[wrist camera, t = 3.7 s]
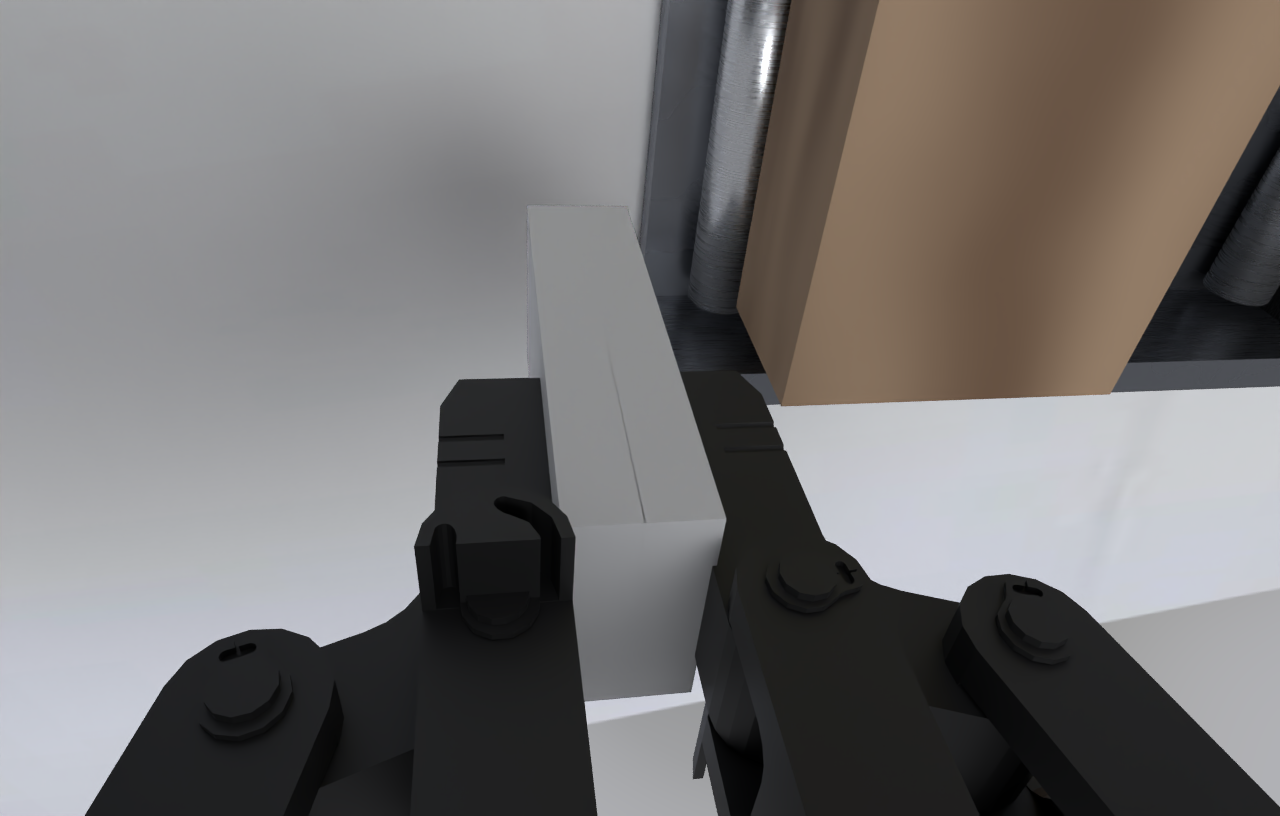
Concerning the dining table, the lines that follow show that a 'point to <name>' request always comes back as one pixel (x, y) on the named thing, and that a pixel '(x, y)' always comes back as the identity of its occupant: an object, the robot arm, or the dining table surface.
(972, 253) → the slab
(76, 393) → the dining table surface
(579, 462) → the robot arm
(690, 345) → the roller bed
